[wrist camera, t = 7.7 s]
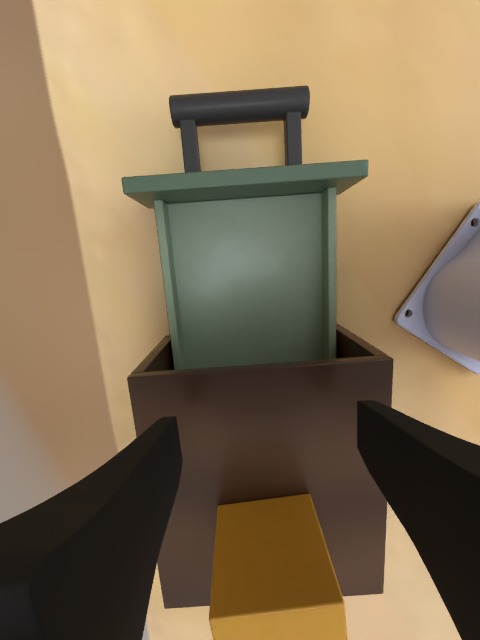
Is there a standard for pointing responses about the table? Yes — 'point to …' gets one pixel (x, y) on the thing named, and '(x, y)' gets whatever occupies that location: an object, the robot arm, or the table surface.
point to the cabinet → (268, 455)
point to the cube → (273, 574)
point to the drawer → (247, 239)
